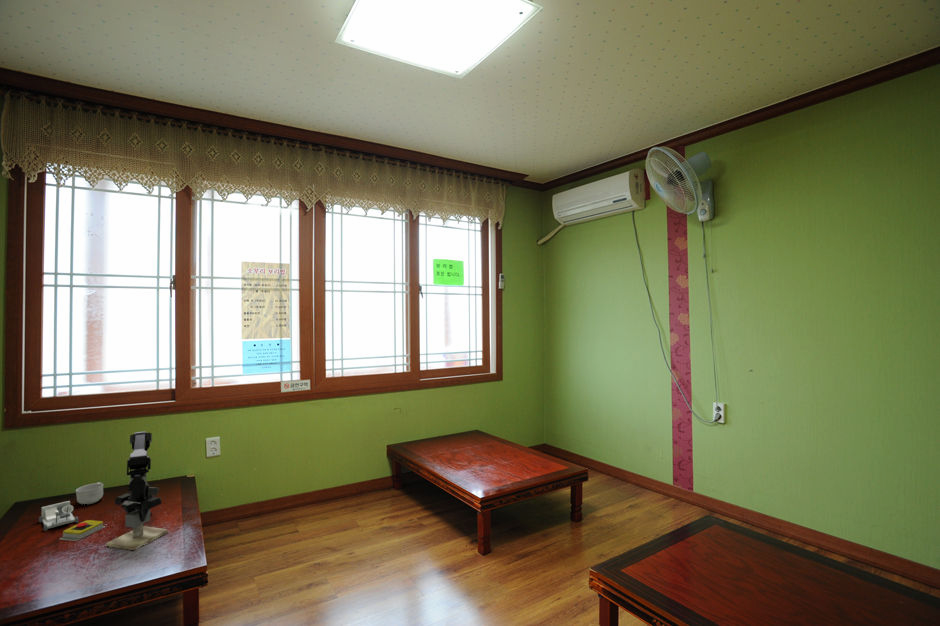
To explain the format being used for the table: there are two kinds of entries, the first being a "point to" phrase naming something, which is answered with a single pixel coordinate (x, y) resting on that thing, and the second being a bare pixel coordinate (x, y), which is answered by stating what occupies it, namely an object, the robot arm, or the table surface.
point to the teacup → (89, 493)
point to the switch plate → (137, 537)
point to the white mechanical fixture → (57, 515)
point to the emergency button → (82, 530)
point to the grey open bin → (135, 519)
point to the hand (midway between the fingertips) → (138, 520)
